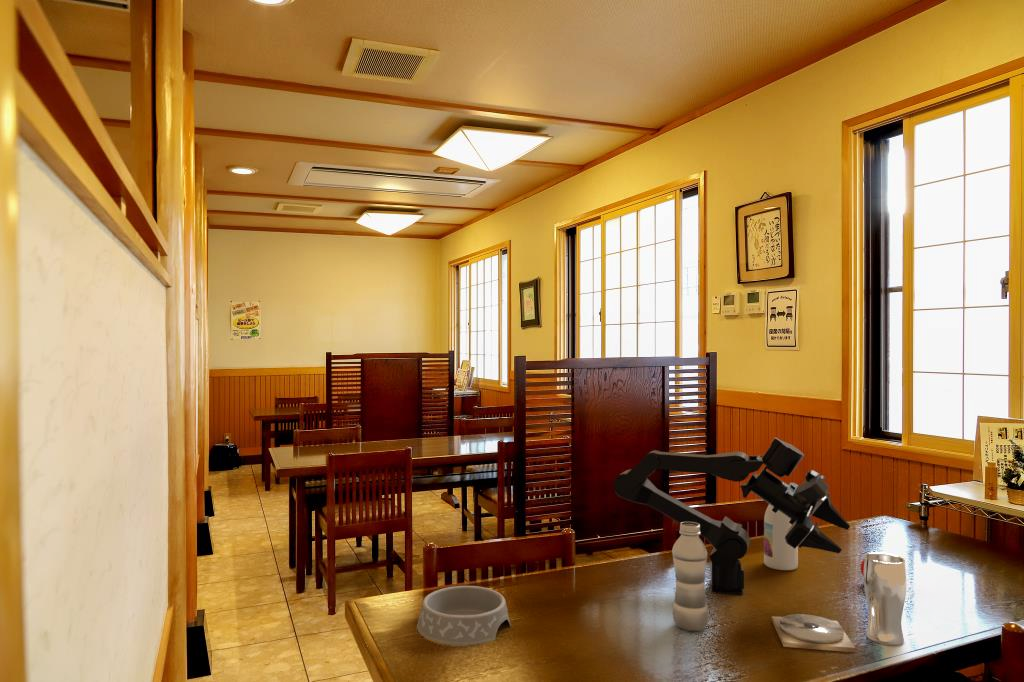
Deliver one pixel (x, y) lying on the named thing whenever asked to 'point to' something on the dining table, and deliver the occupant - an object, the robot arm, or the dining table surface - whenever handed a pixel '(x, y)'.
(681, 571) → the plastic bottle
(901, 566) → the beer glass
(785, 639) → the base plate
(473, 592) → the dog bowl
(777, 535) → the milk bottle
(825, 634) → the flange
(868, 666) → the dining table surface
